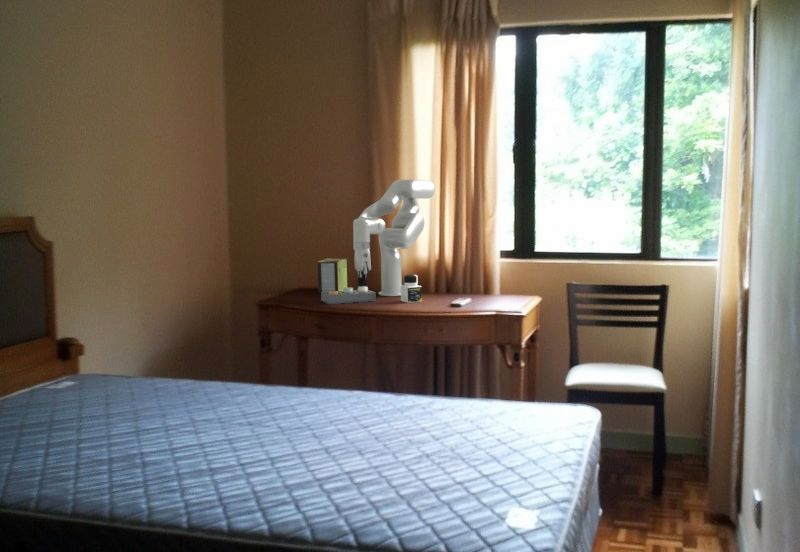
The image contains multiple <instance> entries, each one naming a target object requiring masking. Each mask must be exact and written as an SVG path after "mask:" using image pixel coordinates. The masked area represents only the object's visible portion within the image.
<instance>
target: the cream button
mask: <svg viewBox="0 0 800 552" xmlns="http://www.w3.org/2000/svg"><path fill="white" fill-rule="evenodd" d="M368 287H369V286H362V287H360V286H357V290H358V292H368V290H369V288H368Z"/></svg>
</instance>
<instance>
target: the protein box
mask: <svg viewBox="0 0 800 552" xmlns="http://www.w3.org/2000/svg"><path fill="white" fill-rule="evenodd" d="M347 263H348V262H347V258H325V259H321V260H319V261H317V279H318V280H317V285H318V294H321V292H329V291H343V288H347V287H348V271H347V269H348V267H347V265H348V264H347Z"/></svg>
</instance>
